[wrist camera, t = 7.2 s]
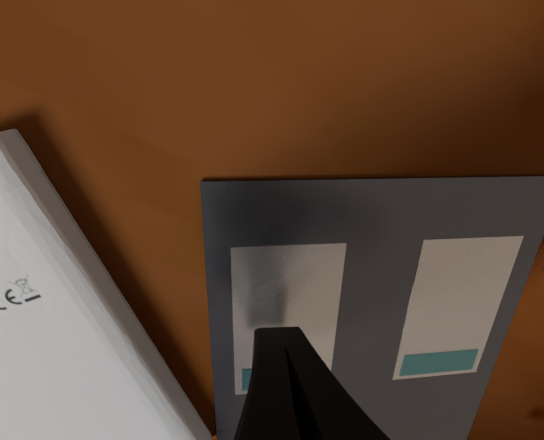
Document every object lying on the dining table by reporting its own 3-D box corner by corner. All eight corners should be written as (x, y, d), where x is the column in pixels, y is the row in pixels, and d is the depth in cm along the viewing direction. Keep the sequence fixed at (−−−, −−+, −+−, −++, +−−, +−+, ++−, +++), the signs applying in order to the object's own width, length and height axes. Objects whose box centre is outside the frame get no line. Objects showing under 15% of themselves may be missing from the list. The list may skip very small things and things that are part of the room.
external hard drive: (23, 488, 14) (-276, 230, 9) (213, 424, 14) (27, 123, 8) (-2, 539, 12) (-381, 263, 7) (212, 466, 12) (-14, 134, 7)
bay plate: (455, 462, 16) (457, 465, 16) (220, 493, 15) (220, 497, 14) (562, 175, 10) (567, 176, 10) (200, 180, 9) (200, 182, 9)
